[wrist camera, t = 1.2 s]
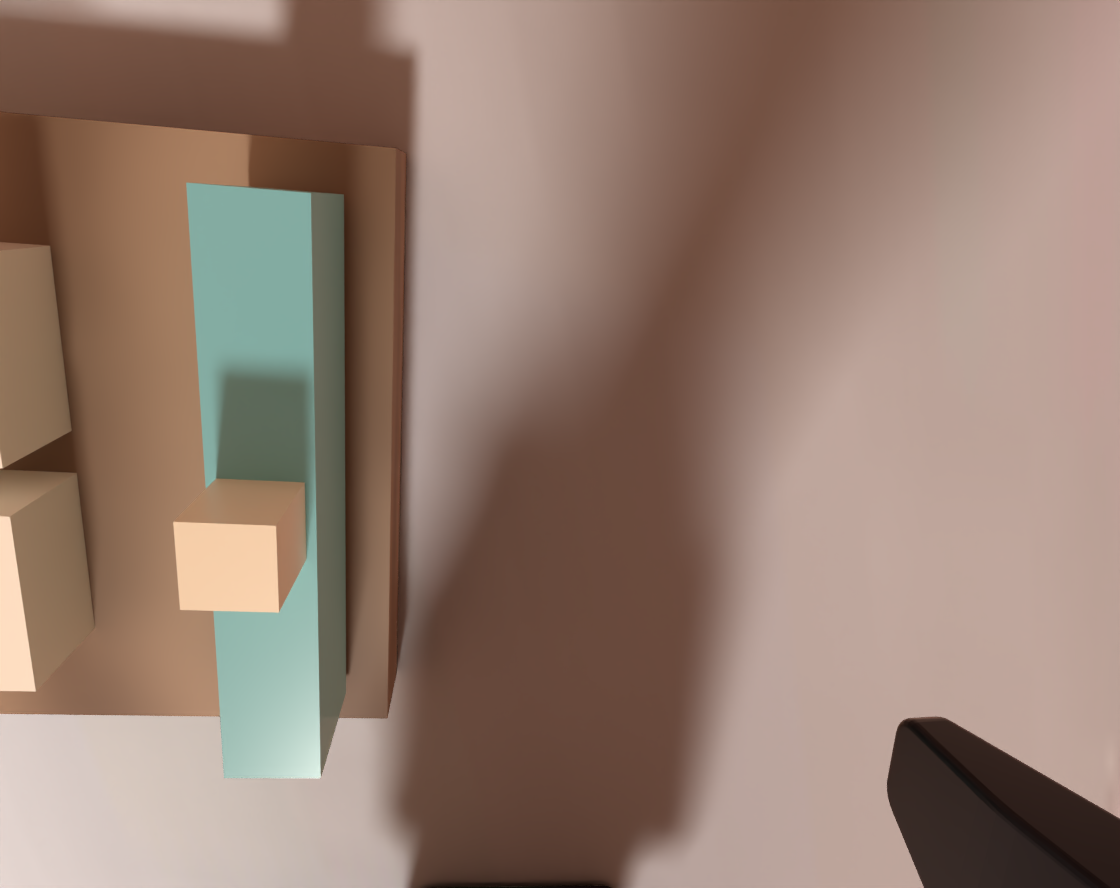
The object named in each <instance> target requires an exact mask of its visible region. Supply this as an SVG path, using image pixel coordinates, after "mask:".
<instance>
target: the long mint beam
mask: <svg viewBox="0 0 1120 888" xmlns="http://www.w3.org/2000/svg"><path fill="white" fill-rule="evenodd" d="M186 187H187V203H188V219H189V235H190V250H191V266H192V282H193V297H194V313H195V329H196V345H197V360H198V376H199V392H200V408H201V423H202V439H203V455H204V470H205V486H206V489H205V490H204V491H203V492H202V493H201V494H200V495H199V496H198V497H197V498H196V499H195V500H194V501H193V502H192V503H191V504H190V505H189V506H188V507H187V508H186V509H185V510H184V511H183V512H182V513H181V514H180V515H179V516H178V517H177V518H176V520H175V521H174V522H173V526H174V539H175V552H176V564H177V577H178V590H179V603H180V610H200V611H213V612H214V628H215V644H216V659H217V675H218V691H219V706H220V722H221V738H222V754H223V769H224V778H321V776H322V772H323V769H324V765H325V762H326V759H327V755H328V752H329V749H330V745H331V742H332V738H333V735H334V732H335V728H336V725H337V721H338V718H339V715H340V711H341V708H342V705H343V701H344V698H345V694H346V547H345V317H344V194H332V193H320V192H308V191H296V190H285V189H273V188H261V187H249V186H235V185H218V184H202V183H186Z"/></svg>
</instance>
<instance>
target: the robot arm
mask: <svg viewBox="0 0 1120 888" xmlns="http://www.w3.org/2000/svg"><path fill="white" fill-rule="evenodd" d="M887 793H888V799H889V802H890V806H891V809H892V811H893V814H894V816H895V819H896V821H897V824H898V826H899V828H900V831H901V833H902V836H903V838H904V840H905V843H906V845H907V848H908V850H909V852H910V855H911V857H912V860H913V862H914V865H915V867H916V869H917V872H918V874H919V877H920V879H921V881H922V884H923V886H924V888H1120V819H1119V818H1118V817H1116V816H1114V815H1113V814H1111V813H1109V812H1107V811H1106V810H1104V809H1102V808H1100V807H1099V806H1097V805H1095V804H1094V803H1092V802H1090V801H1088V800H1087V799H1085V798H1083V797H1081V796H1080V795H1078V794H1076V793H1074V792H1073V791H1071V790H1069V789H1068V788H1066V787H1064V786H1062V785H1061V784H1059V783H1057V782H1055V781H1054V780H1052V779H1050V778H1048V777H1047V776H1045V775H1043V774H1042V773H1040V772H1038V771H1036V770H1035V769H1033V768H1031V767H1029V766H1028V765H1026V764H1024V763H1023V762H1021V761H1019V760H1017V759H1016V758H1014V757H1012V756H1010V755H1009V754H1007V753H1005V752H1003V751H1002V750H1000V749H998V748H997V747H995V746H993V745H991V744H990V743H988V742H986V741H984V740H983V739H981V738H979V737H978V736H976V735H974V734H972V733H971V732H969V731H967V730H965V729H964V728H962V727H960V726H958V725H957V724H955V723H953V722H952V721H950V720H948V719H946V718H942V717H921V718H908V719H905V720H903V721H902V722H901V723H900V724H899V726H898V728H897V732H896V736H895V742H894V747H893V752H892V758H891V763H890V768H889V774H888V779H887ZM450 888H610V887H608V886H537V887H450Z"/></svg>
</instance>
